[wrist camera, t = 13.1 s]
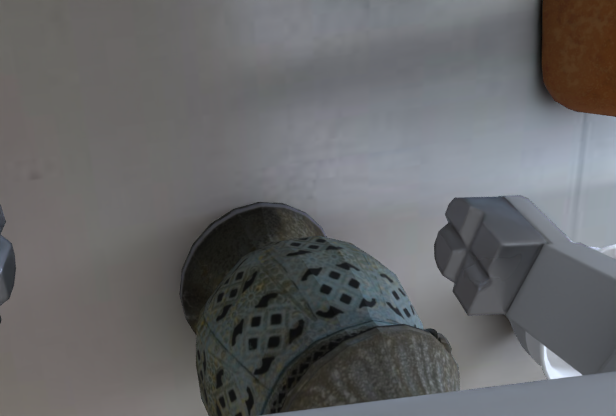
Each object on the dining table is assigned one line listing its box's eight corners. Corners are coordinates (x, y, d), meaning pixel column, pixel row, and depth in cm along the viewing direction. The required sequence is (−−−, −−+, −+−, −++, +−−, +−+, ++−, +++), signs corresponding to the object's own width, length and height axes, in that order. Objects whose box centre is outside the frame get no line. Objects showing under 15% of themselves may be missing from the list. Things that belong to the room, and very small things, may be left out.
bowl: (524, 370, 59) (589, 413, 51) (452, 316, 51) (516, 358, 44) (595, 263, 60) (669, 290, 52) (534, 194, 52) (611, 214, 44)
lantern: (331, 338, 45) (570, 588, 23) (176, 377, 39) (300, 758, 17) (333, 193, 41) (621, 327, 19) (162, 212, 36) (297, 434, 14)
